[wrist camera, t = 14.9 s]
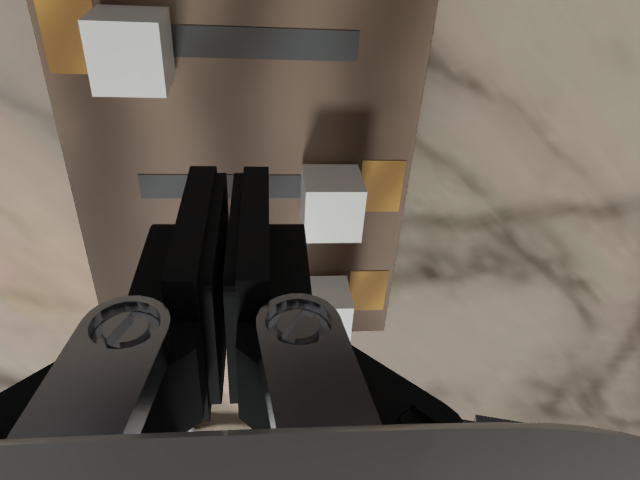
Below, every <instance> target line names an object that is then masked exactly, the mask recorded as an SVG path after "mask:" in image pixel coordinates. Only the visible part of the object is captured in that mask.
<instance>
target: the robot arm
mask: <svg viewBox="0 0 640 480" xmlns="http://www.w3.org/2000/svg"><path fill="white" fill-rule="evenodd" d="M226 348H227V364H228V380H229V395H230V404H233V403H238V408H239V418H240V419H241V420H242V421H244V422H245V423H246V424H247V425H248V426H250V427H251V428H252V429H247V430H220V431H194V432H188V431H189V430H190V429H192V428H193V427H194V426H195V425H197V424H198V423H199V422H210V414H211V404H221V403H222V395H223V383H224V371H225V359H226ZM0 480H640V437H639V436H635V435H632V434H628V433H624V432H618V431H612V430H606V429H601V428H595V427H589V426H580V425H569V424H558V423H524V422H517V421H511V420H505V419H499V418H493V417H487V416H481V415H475V418H474V421H469V420H463V419H461V418H460V416H459V415H458V414H457V413H456V412H455V411H454V410H452V409H451V408H450V407H449V406H447V405H446V404H445V403H443V402H441V401H440V400H438V399H437V398H435V397H434V396H432V395H430V394H429V393H427V392H426V391H424V390H422V389H421V388H419V387H418V386H416V385H414V384H413V383H411V382H410V381H408V380H406V379H405V378H403V377H402V376H400V375H398V374H397V373H395V372H394V371H392V370H390V369H389V368H387V367H386V366H384V365H382V364H381V363H379V362H378V361H376V360H374V359H373V358H371V357H370V356H368V355H367V354H365V353H363V352H362V351H360V350H359V349H357V348H355V347H354V346H352V345H351V343H350V340H349V338H348V335H347V333H346V330H345V327H344V325H343V322H342V320H341V317H340V315H339V313H338V312H337V310H336V309H335V307H334V306H332V305H331V304H330V303H329V302H327V301H326V300H324V299H322V298H319V297H317V296H314V295H312V289H311V280H310V271H309V262H308V253H307V244H306V235H305V227H304V224H269V167H252V166H244V170H243V173H234V177H233V186H232V196H231V205H230V214H229V209H228V189H227V174H226V173H217V167H216V166H190V168H189V172H188V176H187V180H186V184H185V188H184V191H183V195H182V199H181V203H180V207H179V211H178V215H177V219H176V222H175V224H153V225H151V227H150V229H149V232H148V235H147V238H146V241H145V245H144V248H143V251H142V254H141V257H140V260H139V263H138V266H137V269H136V272H135V275H134V278H133V281H132V284H131V287H130V290H129V293H128V296H123V297H118V298H113V299H111V300H108V301H106V302H104V303H101V304H99V305H98V306H96V307H95V308H93V309H92V310H90V311H89V312H88V313H87V314H86V316H85V317H84V318H83V319H82V320H81V322H80V323H79V325H78V326H77V328H76V330H75V331H74V333H73V334H72V336H71V337H70V339H69V340H68V342H67V344H66V345H65V347H64V348H63V350H62V351H61V353H60V355H59V356H58V358H57V359H56V361H55V362H53V363H52V364H50V365H48V366H46V367H45V368H43V369H41V370H39V371H38V372H36V373H34V374H32V375H31V376H29V377H27V378H25V379H24V380H22V381H20V382H18V383H16V384H15V385H13V386H11V387H9V388H8V389H6V390H4V391H2V392H1V393H0Z"/></svg>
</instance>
